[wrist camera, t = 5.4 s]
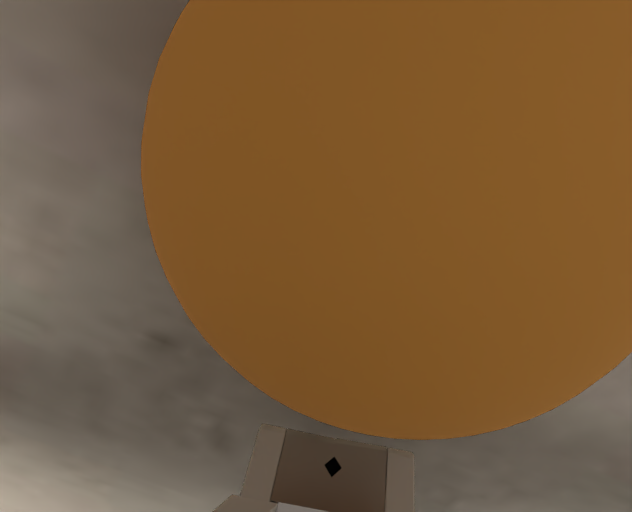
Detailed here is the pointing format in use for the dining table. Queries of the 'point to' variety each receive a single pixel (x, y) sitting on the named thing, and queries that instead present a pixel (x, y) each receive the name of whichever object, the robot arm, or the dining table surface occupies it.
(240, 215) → the ball
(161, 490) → the dining table surface
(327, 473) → the robot arm
